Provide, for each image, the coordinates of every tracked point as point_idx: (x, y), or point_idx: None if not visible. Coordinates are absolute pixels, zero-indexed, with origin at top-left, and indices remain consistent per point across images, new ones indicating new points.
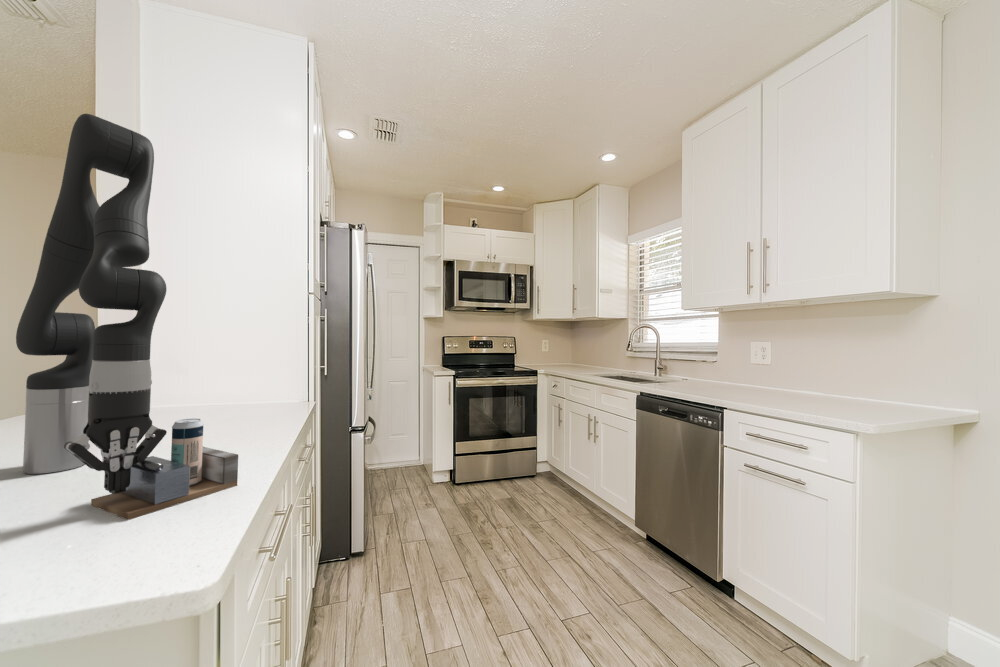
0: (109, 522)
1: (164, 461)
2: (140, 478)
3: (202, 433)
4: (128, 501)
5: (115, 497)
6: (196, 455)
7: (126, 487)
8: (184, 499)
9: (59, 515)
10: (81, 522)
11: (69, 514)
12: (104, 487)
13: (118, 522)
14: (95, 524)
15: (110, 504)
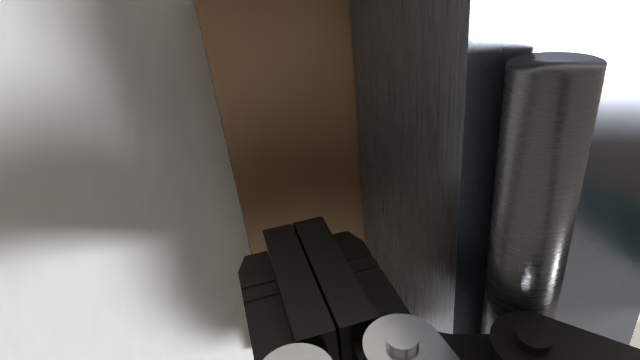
0: (219, 328)
1: (634, 249)
2: (418, 316)
3: None
4: (326, 218)
5: (304, 91)
6: None
7: (372, 114)
8: None
9: (22, 52)
10: (127, 259)
11: (76, 82)
12: (239, 272)
13: (243, 346)
14: (174, 318)
15: (256, 202)
